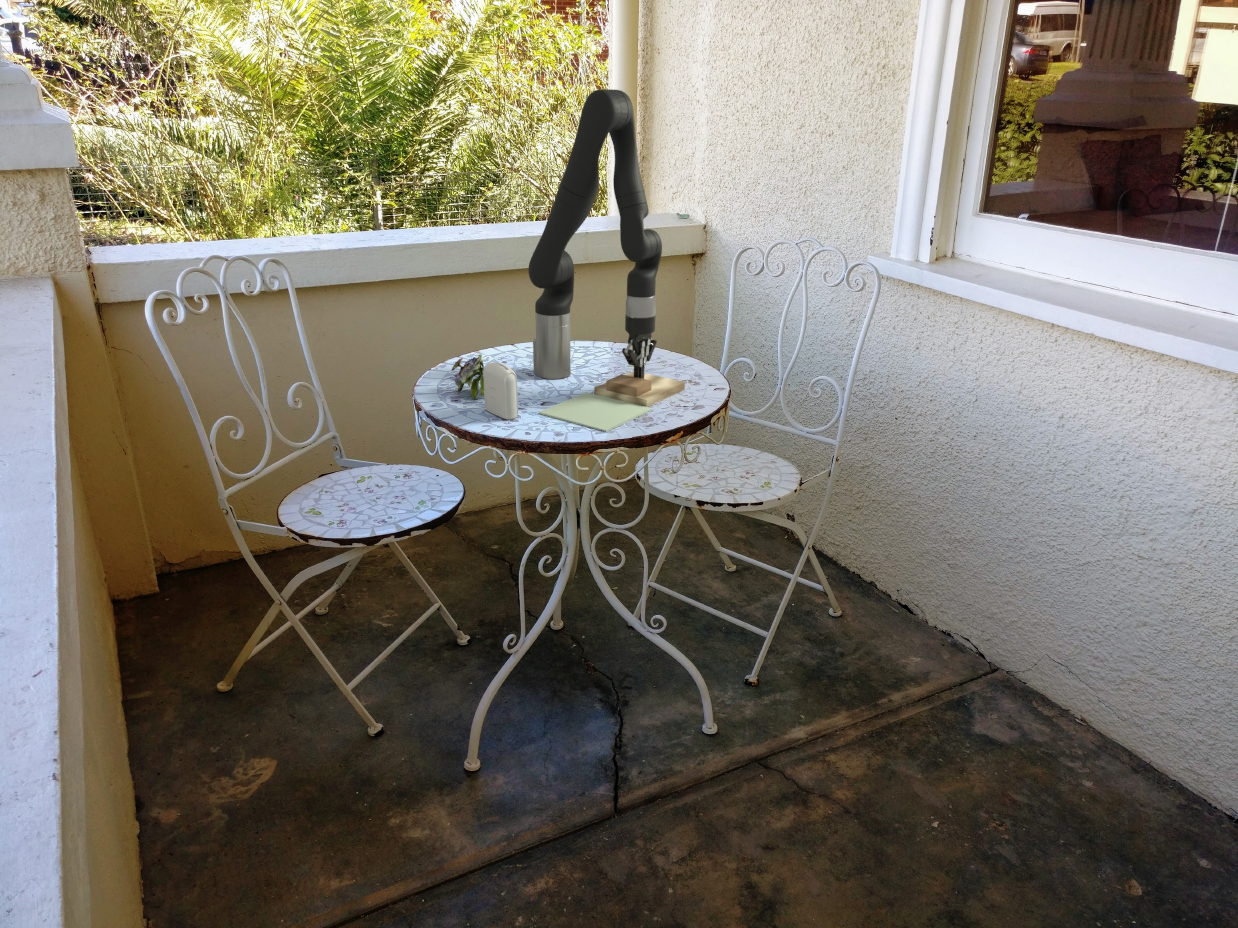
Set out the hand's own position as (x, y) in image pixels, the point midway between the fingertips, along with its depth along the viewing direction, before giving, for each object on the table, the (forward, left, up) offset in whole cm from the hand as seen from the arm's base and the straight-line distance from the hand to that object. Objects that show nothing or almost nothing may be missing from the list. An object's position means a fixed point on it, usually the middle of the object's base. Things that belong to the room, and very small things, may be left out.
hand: (638, 379), depth 226 cm
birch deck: (0, +1, -4) cm, 4 cm away
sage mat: (0, -18, -4) cm, 19 cm away
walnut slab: (0, -5, -2) cm, 5 cm away
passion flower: (-33, -25, -4) cm, 42 cm away
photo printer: (-17, -33, -4) cm, 38 cm away
